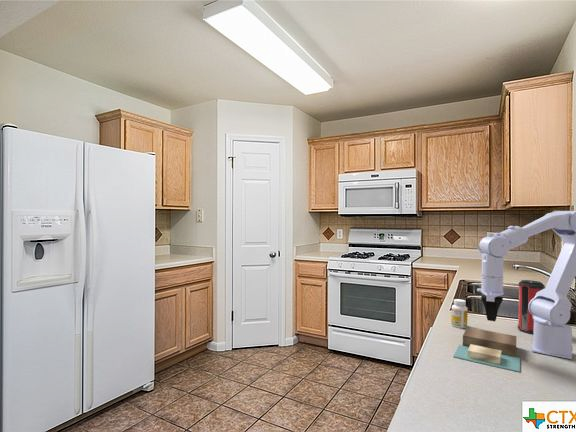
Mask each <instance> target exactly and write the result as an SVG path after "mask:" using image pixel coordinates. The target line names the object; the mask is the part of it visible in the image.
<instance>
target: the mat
mask: <svg viewBox="0 0 576 432" xmlns="http://www.w3.org/2000/svg"><path fill="white" fill-rule="evenodd" d="M468 349H469V347H467V346H463V344H462V345H461V344H459V345H458V346H457V348H456V349H455V353H454V354H453V358H455V359H459V360H460V359H461V360H463V361H464V360H465V361H469V362H474V363H477V364H482V365H485V366H486V365H487V366H491V367H495V368H500V369H504V370H508V371H512V372H517V373H520V372H521V370H520V368H521V358H520V357H519V356H516V357H514V356H510V355H505V354H501V362H500V365H499V364H495V363H490V362H486V361H482V360H477V359H473V358H469V357H468Z"/></svg>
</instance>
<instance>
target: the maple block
mask: <svg viewBox="0 0 576 432" xmlns="http://www.w3.org/2000/svg"><path fill="white" fill-rule="evenodd" d="M501 352H502V351H501V350H496V349H491V348H486V347H482V346H477V345H472V344H470V346H469V349H468V357H469V358H473V359H477V360H482V361H486V362H490V363H495V364H499V365H500V362H501Z"/></svg>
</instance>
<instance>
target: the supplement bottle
mask: <svg viewBox="0 0 576 432" xmlns="http://www.w3.org/2000/svg"><path fill="white" fill-rule="evenodd" d="M466 303H467V301H466V300H464V299H460V298H455V299H453V304H452V306H451V314H450V315H451V320H450V321H451V322H450V323H451V326H453V327H454V328H456V329H457V328H458V329H465V328H467V327H468V307H467V306H466Z"/></svg>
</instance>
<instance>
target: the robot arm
mask: <svg viewBox="0 0 576 432" xmlns="http://www.w3.org/2000/svg"><path fill="white" fill-rule="evenodd" d="M551 229H552V231H553V232H554V233H555V234H556V235H557V236H558V237H559V238H561V239H562V241H563V246H562V248H561V250H560V253H559V255H558V257H557V260H556V262H555V264H554V266H553V270H552V272H551V274H550V276H549V278H548V281H547V283H546V285H545V287H544V288H543V290H541V291H539V292H537V293H536V295H535V297H534V298H533V299H532V300H531V301H530V302H529V305H528V309H529V312H530V313H531V314H532V315H533V319H534V334H532V335H533V341H532V342H531V352H534V353H539V354H543V355H547V356H548V355H549V356H553V357H559V358H564V359H569V360H572V358H573V357H572V355H573V354H572V353H573V349H574V348H573V329H572V326H571V325H567V323H569V321H570V318H571V308H572V306H573V304H572V302H571V301H570V299H569V298H568V294H569V291H570V289H571V286H572V284H573V282H574V280H575V277H576V210H553V211H552V212H549V213H548V212H547V213H546V214H545V215H544V216H542V217H540V218H538V219H535V220H533V221H532V222H530V223H527V224H526V225H524V226H519V225H515V226H514V225H509V226H508V227H507V229H505V230H503V231H501V232H495V233H493V235H492V236H484V237H483V238H482V239H481V240H480V241H479V244H477V249H478V251H479V253H480V255H481V256H480V257H481V286H480V287H479V288H476V291H477V292H480V293H481V294H483V295H481V296H480V299H481V302H482V304H483V307H484V309H485V310H484V311H485V316H486V319H487V321H490V322H496V320H497V318H498V317H497V316H498V312H499V308H500V306H501V304H502V303H503V300H504V298H503V297H502V296H503V295H504V294H505V293H504V257H505V256H506V255H507V254H508V252H509V251H510V250H513V249H514V248H517V247H519V246H522V245H523V244H526V243H527V242H528V240H529V237H532V236H535V235H537V234H540V233H542V232H545V231H548V230H551Z"/></svg>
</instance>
